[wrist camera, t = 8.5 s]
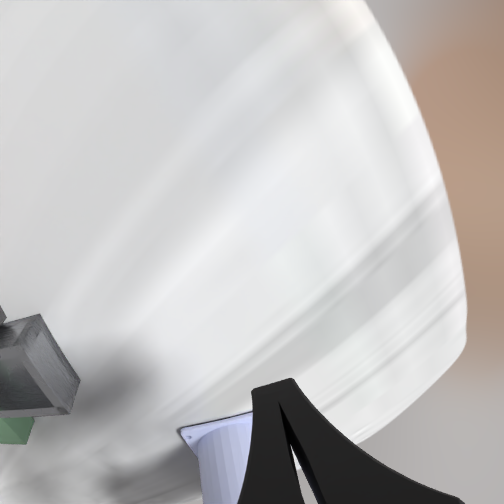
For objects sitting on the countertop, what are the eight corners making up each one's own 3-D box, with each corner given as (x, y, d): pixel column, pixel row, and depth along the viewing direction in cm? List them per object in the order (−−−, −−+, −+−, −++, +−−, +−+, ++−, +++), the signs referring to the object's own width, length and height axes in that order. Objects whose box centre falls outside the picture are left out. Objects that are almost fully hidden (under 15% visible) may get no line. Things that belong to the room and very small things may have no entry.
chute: (80, 380, 20) (69, 414, 17) (10, 389, 19) (-3, 418, 16) (39, 313, 17) (20, 344, 14) (-28, 332, 17) (-48, 358, 14)
